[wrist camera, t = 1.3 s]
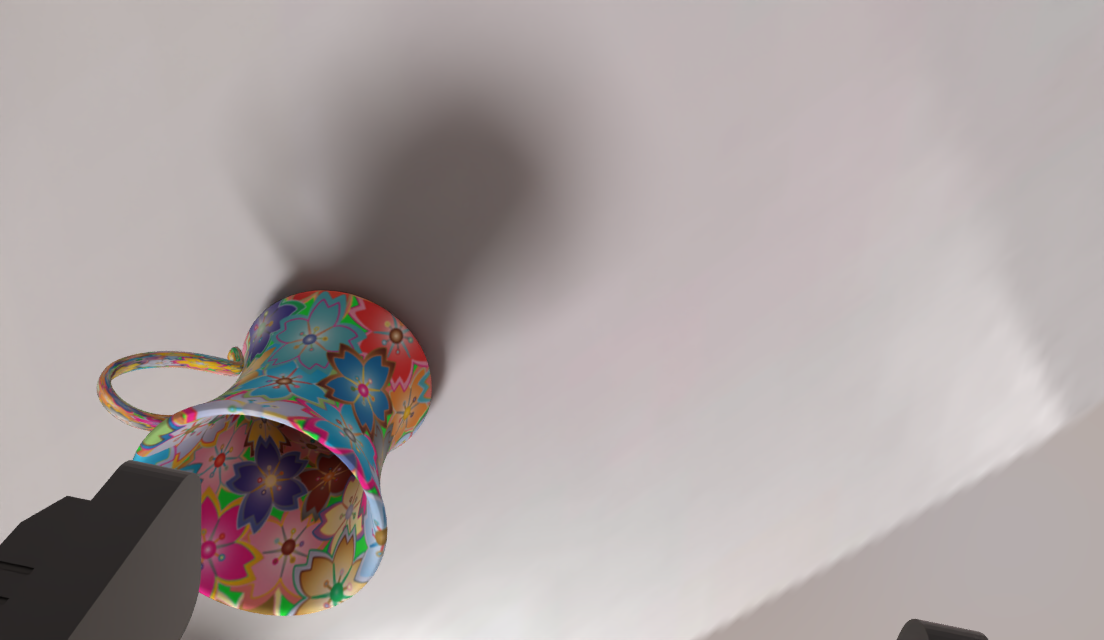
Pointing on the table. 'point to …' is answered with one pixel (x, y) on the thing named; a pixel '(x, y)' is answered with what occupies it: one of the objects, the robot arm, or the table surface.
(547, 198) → the table surface
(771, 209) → the table surface
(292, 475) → the mug
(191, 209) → the table surface
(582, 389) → the table surface
